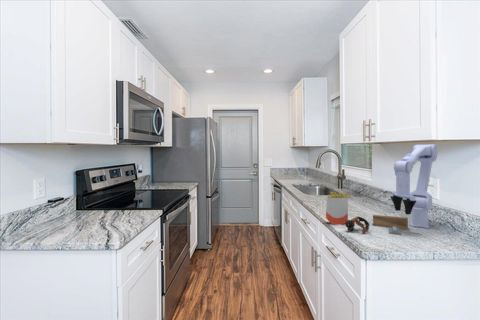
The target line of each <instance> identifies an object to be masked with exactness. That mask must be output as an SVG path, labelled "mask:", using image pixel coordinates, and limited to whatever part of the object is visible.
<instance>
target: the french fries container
mask: <svg viewBox="0 0 480 320" xmlns="http://www.w3.org/2000/svg"><path fill="white" fill-rule="evenodd" d="M348 201H349V199H348V193H347V192H344V193H342V192H341V191H339V194H337V192H336V191H330V195H327V197H326V205H325V218H326V220H327V221H328V222H329V223H330V224H332V225H338V226H339V225H341V226H342V225H345V222H346V221H347V220H349V219H348V218H349V211H348V210H349V209H348V208H349V207H348V206H349V202H348Z"/></svg>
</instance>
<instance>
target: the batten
mask: <svg viewBox="0 0 480 320" xmlns="http://www.w3.org/2000/svg"><path fill="white" fill-rule="evenodd" d="M372 226H375V227H383V228H388V229H389V228H392V226H396V227H397V229H398V228H399V229H400V230H407V229H408V230H409V219H408V217H405V216H404V217H403V216H393V215H392V216H391V215H383V214H382V215H381V214H372Z"/></svg>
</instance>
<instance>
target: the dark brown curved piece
mask: <svg viewBox="0 0 480 320" xmlns="http://www.w3.org/2000/svg"><path fill="white" fill-rule="evenodd" d="M363 222H364V223H363ZM344 225H345V227H346V228H347V231H352V229H355V226H356V225H357V226H358V227H360V228H361V229H362V231H361V234H364V235H365V234H366V232H368V231H369V230H370V226H371V225H370V222H369V221H368V220H367V219H366V218H364V217H362V216H356V217H354V218H351V219H348V220H347V221H346V222H345V223H344Z"/></svg>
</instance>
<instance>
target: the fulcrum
mask: <svg viewBox="0 0 480 320" xmlns="http://www.w3.org/2000/svg"><path fill="white" fill-rule="evenodd" d="M388 234H391V235H397V236H398V235H399V236H401V235H402V231H401V229H398V228H397V227H396V226H392V228H389V227H388Z"/></svg>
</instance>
